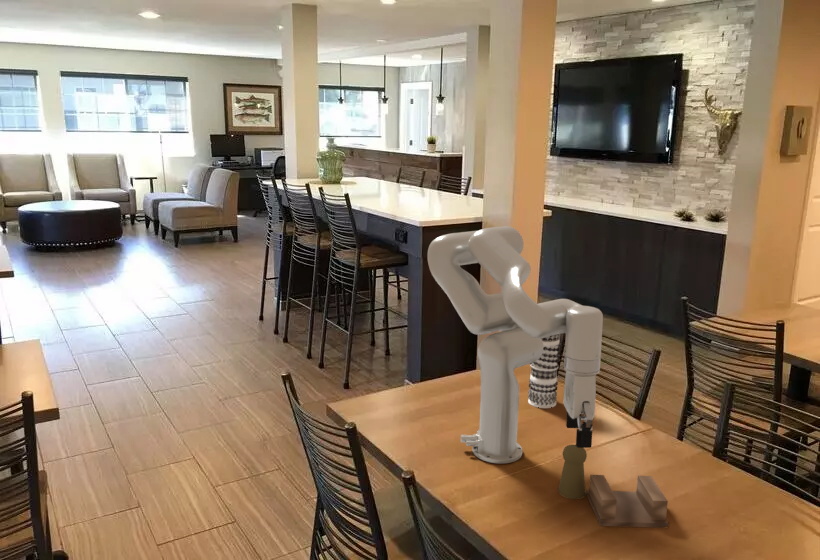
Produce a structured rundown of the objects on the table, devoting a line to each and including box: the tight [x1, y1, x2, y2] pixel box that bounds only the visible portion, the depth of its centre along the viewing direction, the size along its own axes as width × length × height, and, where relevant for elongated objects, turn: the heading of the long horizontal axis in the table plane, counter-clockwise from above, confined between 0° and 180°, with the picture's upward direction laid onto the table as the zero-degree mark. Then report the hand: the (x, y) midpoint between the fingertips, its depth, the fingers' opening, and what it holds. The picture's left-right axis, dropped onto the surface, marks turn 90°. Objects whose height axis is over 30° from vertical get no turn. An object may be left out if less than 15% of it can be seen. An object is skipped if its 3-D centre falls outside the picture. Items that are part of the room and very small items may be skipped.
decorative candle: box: [527, 334, 563, 409], centre depth 193 cm, size 9×9×25 cm
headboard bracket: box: [585, 474, 670, 528], centre depth 139 cm, size 14×12×6 cm
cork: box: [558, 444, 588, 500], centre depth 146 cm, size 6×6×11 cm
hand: (578, 437), depth 144 cm, fingers open, 9 cm apart
